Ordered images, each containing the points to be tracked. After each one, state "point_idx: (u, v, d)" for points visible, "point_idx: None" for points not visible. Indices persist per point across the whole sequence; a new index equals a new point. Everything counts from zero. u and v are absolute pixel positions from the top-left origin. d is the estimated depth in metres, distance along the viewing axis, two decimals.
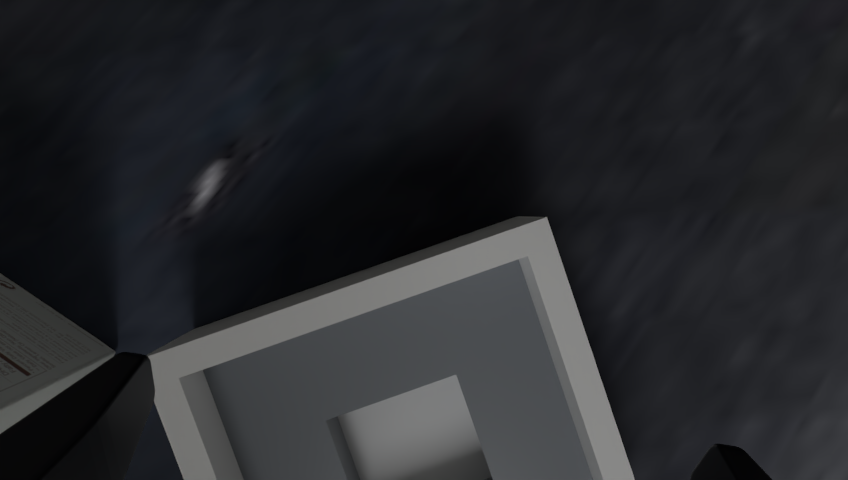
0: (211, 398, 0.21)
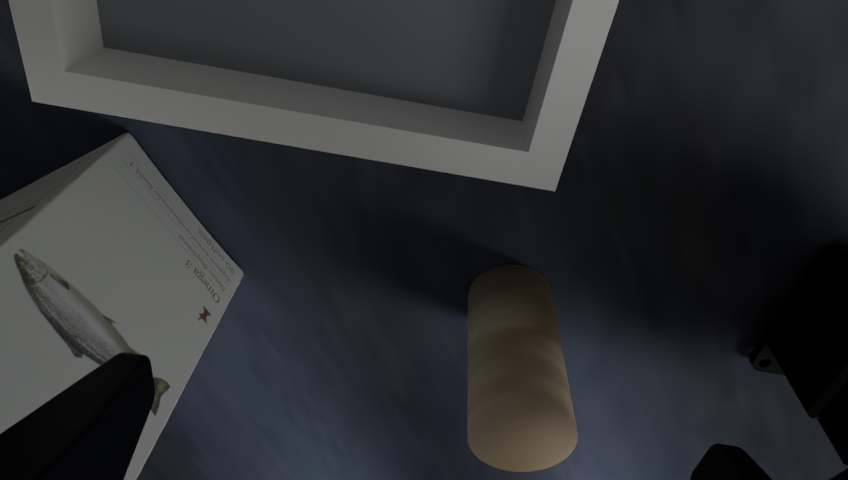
0: (149, 57, 0.16)
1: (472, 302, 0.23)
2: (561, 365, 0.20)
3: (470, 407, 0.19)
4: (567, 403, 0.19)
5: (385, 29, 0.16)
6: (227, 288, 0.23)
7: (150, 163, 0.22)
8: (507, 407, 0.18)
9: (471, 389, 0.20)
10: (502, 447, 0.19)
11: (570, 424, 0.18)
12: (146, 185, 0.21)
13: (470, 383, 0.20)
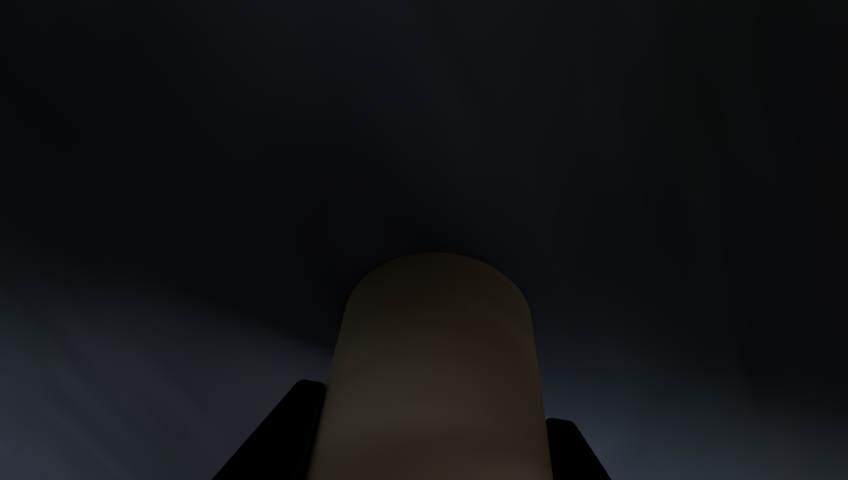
0: None
1: (338, 342, 0.10)
2: None
3: None
4: None
5: None
6: None
7: None
8: None
9: None
10: None
11: None
12: None
13: None
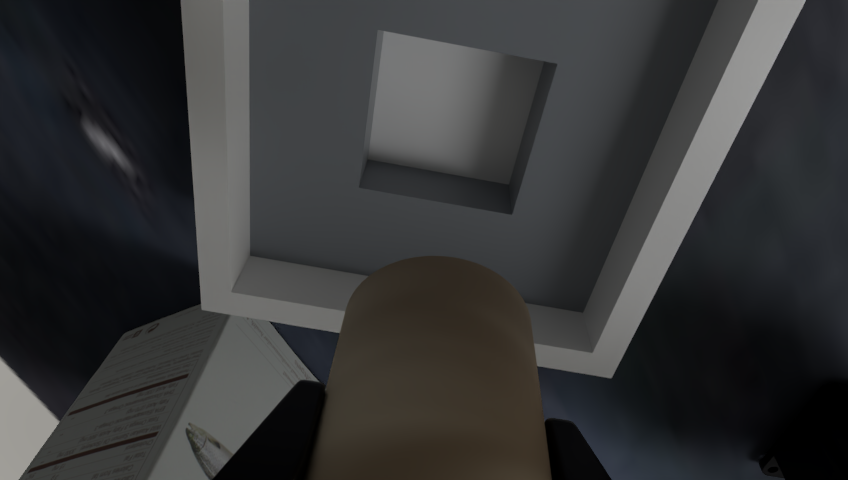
0: (287, 264, 0.21)
1: (338, 345, 0.10)
2: None
3: None
4: None
5: (478, 251, 0.20)
6: None
7: None
8: None
9: None
10: None
11: None
12: (259, 334, 0.25)
13: None
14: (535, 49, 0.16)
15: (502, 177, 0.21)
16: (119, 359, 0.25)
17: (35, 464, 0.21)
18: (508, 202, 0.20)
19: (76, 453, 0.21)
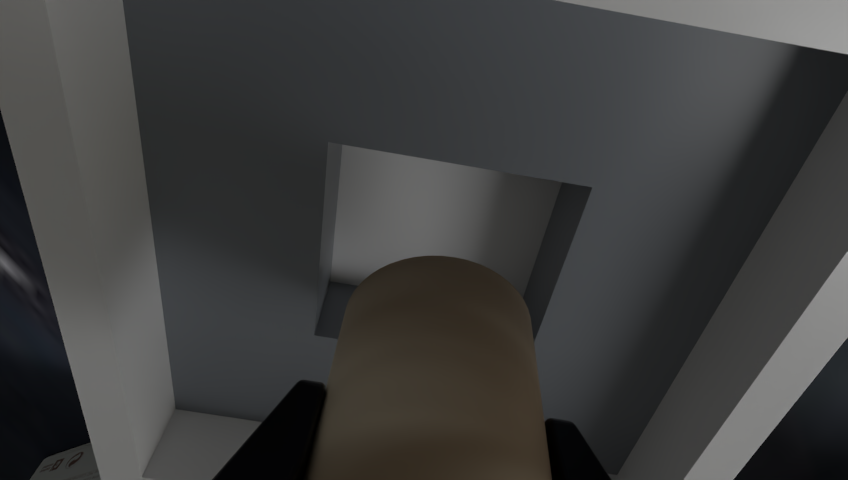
0: (224, 421, 0.16)
1: (338, 345, 0.10)
2: None
3: None
4: None
5: None
6: None
7: None
8: None
9: None
10: None
11: None
12: None
13: None
14: (561, 169, 0.11)
15: None
16: None
17: None
18: None
19: None
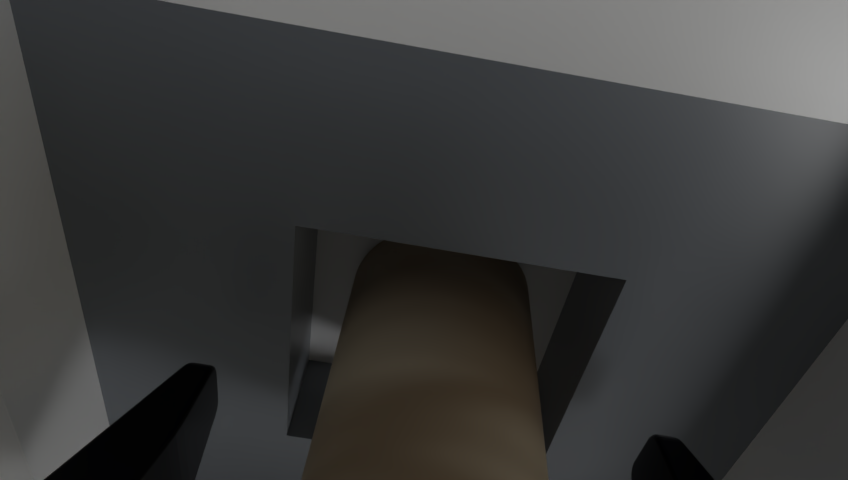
0: None
1: (348, 308, 0.11)
2: None
3: None
4: None
5: None
6: None
7: None
8: None
9: None
10: None
11: None
12: None
13: None
14: (588, 259, 0.09)
15: None
16: None
17: None
18: None
19: None
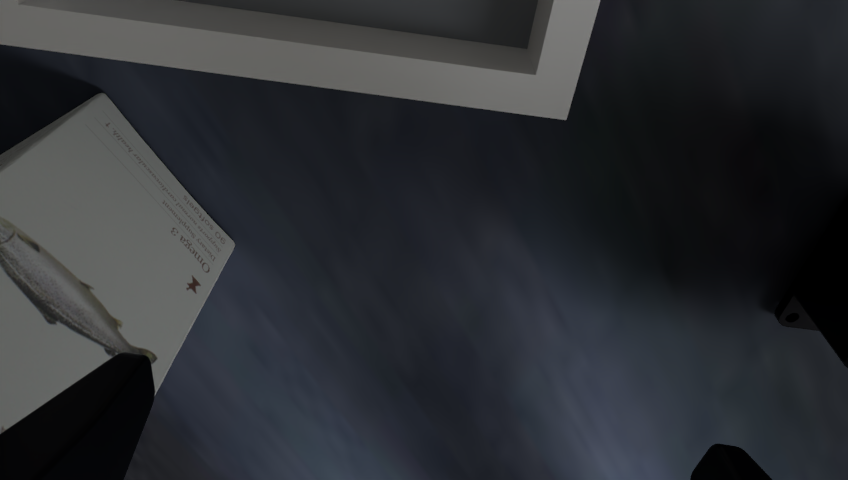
0: None
1: None
2: None
3: None
4: None
5: None
6: (217, 258, 0.22)
7: (129, 126, 0.20)
8: None
9: None
10: None
11: None
12: (125, 148, 0.20)
13: None
14: None
15: None
16: None
17: None
18: None
19: None
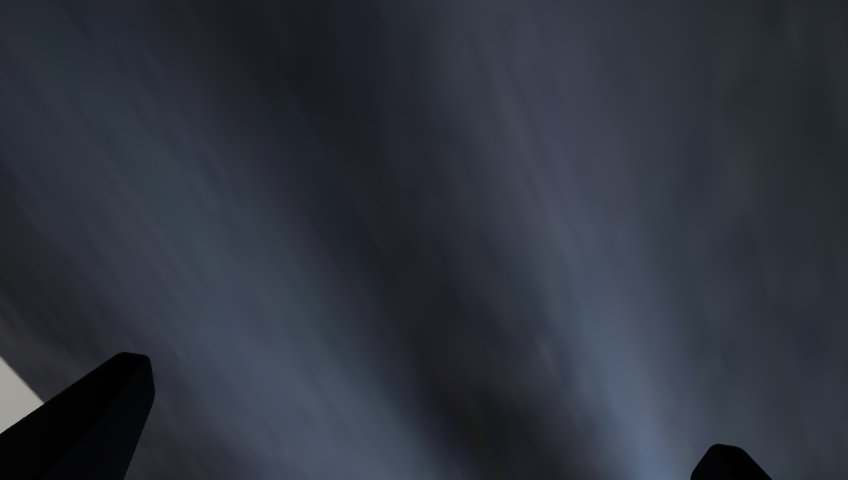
0: None
1: None
2: None
3: None
4: None
5: None
6: None
7: None
8: None
9: None
10: None
11: None
12: None
13: None
14: None
15: None
16: None
17: None
18: None
19: None
